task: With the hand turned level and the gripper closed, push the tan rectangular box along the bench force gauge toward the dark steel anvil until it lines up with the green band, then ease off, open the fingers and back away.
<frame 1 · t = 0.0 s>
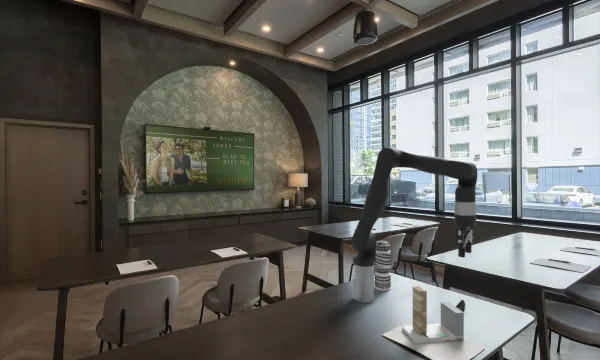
hand: (465, 254, 124), 29 cm above the table, tool pointing down, fingers open, 8 cm apart
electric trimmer: (458, 312, 141), on the table
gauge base: (432, 334, 121), on the table
tan rectangular box: (421, 311, 118), point 10 cm above the table, slide at 0.0 cm
decorative candle: (382, 288, 170), on the table
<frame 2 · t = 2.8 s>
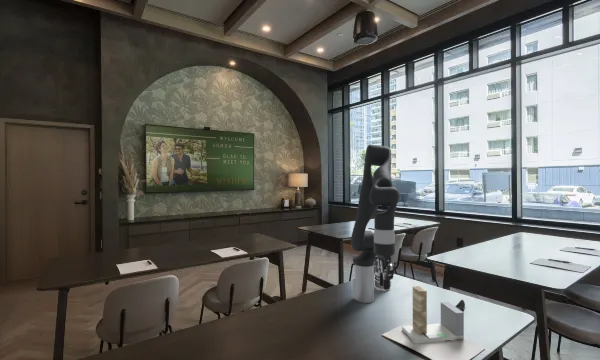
hand: (384, 287, 118), 19 cm above the table, tool pointing down, fingers open, 3 cm apart
nothing on the table moved.
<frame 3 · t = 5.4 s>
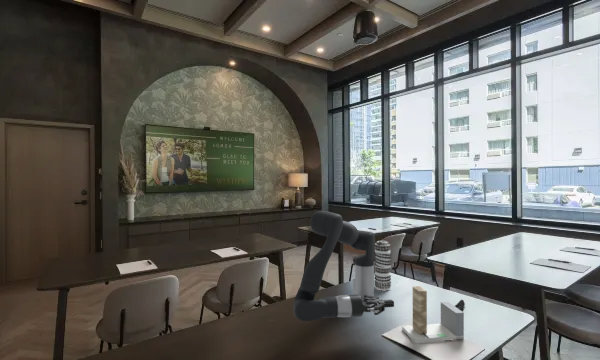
hand: (393, 303, 118), 13 cm above the table, tool horizontal, fingers closed
nothing on the table moved.
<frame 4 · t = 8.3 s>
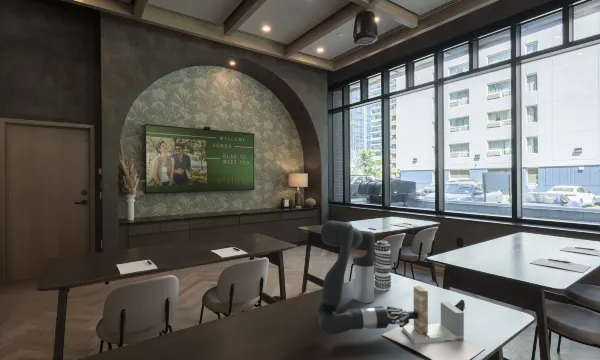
hand: (416, 314, 120), 8 cm above the table, tool horizontal, fingers closed
tan rectangular box: (422, 311, 118), point 10 cm above the table, slide at 0.4 cm, touching gripper
everything else where it was.
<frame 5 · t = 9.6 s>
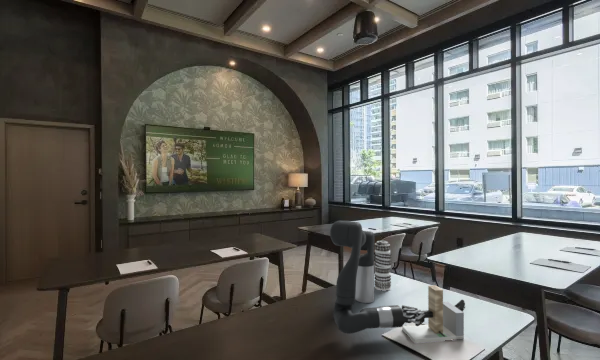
hand: (431, 313, 120), 8 cm above the table, tool horizontal, fingers closed
tan rectangular box: (438, 310, 119), point 10 cm above the table, slide at 6.4 cm, touching gripper
everything else where it was.
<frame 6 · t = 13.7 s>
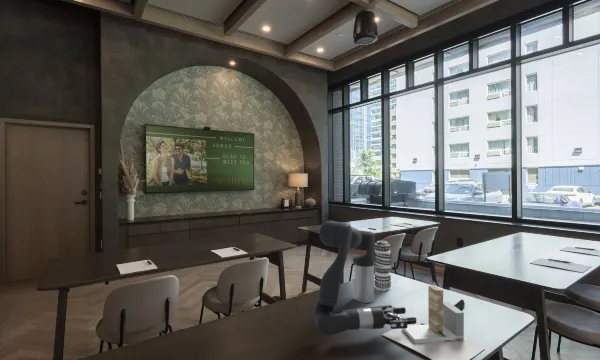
hand: (410, 315, 119), 8 cm above the table, tool horizontal, fingers open, 8 cm apart
tan rectangular box: (438, 310, 119), point 10 cm above the table, slide at 6.5 cm
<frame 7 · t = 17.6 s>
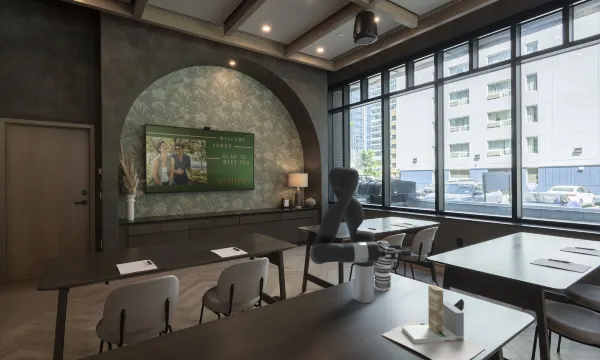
hand: (405, 250, 121), 32 cm above the table, tool horizontal, fingers open, 8 cm apart
at the end: tan rectangular box slide at 6.5 cm; tan rectangular box touching nothing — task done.
